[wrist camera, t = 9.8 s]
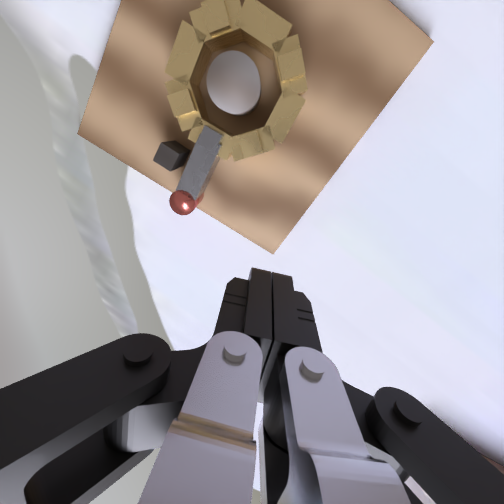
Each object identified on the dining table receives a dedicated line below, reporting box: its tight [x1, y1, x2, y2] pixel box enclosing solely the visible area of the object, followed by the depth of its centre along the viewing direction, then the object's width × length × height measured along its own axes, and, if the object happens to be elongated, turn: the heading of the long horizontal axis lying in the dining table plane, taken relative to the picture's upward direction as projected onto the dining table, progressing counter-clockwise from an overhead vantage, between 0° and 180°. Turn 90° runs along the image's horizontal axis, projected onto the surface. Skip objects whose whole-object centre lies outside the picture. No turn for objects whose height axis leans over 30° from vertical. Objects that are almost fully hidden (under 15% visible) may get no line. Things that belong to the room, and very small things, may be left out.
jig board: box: [77, 0, 434, 254], centre depth 23 cm, size 24×24×6 cm
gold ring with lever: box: [164, 0, 308, 215], centre depth 24 cm, size 11×18×5 cm, turn 151°
